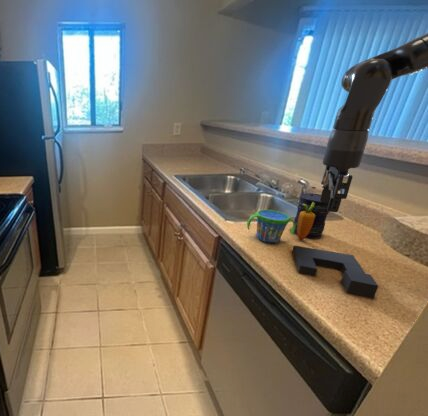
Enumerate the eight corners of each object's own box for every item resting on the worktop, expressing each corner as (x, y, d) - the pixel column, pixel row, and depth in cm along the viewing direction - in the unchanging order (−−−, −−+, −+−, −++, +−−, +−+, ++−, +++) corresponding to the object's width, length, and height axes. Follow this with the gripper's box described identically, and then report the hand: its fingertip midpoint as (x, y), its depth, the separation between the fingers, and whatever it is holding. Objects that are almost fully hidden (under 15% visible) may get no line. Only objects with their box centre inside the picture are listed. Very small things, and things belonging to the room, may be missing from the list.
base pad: (350, 261, 89) (352, 255, 88) (366, 286, 77) (369, 278, 76) (292, 251, 95) (293, 245, 94) (298, 272, 84) (300, 265, 83)
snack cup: (288, 236, 106) (295, 212, 102) (294, 249, 97) (301, 223, 93) (244, 230, 112) (248, 207, 108) (245, 241, 102) (250, 216, 99)
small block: (365, 286, 77) (370, 274, 75) (373, 298, 72) (378, 286, 71) (340, 281, 79) (344, 269, 78) (346, 292, 75) (351, 280, 73)
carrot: (294, 242, 101) (304, 204, 96) (290, 236, 106) (300, 200, 100) (310, 244, 100) (321, 205, 95) (305, 238, 104) (316, 201, 99)
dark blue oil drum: (327, 239, 103) (341, 194, 96) (298, 237, 105) (310, 193, 98) (313, 228, 112) (325, 186, 106) (287, 227, 114) (297, 185, 107)
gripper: (375, 152, 63) (353, 217, 69) (354, 144, 75) (337, 200, 81) (334, 151, 66) (317, 213, 72) (320, 143, 78) (306, 197, 84)
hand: (328, 206), depth 76 cm, fingers open, 8 cm apart
